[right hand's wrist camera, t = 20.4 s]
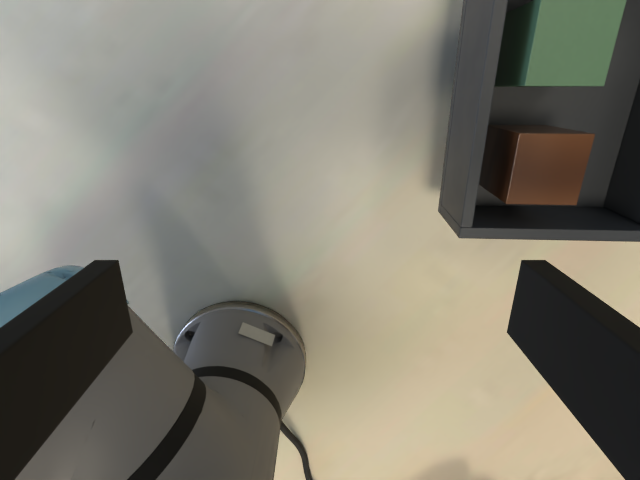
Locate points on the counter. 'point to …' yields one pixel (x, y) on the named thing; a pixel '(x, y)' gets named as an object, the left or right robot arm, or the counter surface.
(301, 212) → the counter surface
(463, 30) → the bin
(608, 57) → the green block
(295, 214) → the counter surface
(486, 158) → the walnut block
